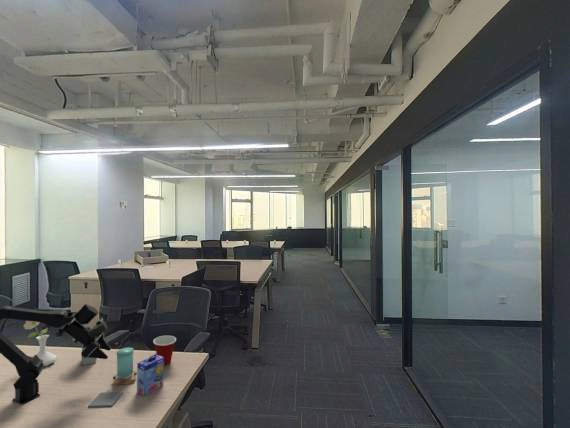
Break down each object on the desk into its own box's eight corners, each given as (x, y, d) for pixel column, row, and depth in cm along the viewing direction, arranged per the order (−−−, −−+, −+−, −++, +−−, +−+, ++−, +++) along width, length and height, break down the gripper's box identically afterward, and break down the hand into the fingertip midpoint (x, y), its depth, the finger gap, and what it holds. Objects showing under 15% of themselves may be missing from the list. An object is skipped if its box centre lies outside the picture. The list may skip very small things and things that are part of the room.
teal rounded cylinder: (124, 378, 134) (124, 355, 134) (112, 375, 137) (112, 352, 137) (136, 371, 140) (137, 349, 140) (125, 368, 143) (126, 346, 143)
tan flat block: (112, 386, 133) (112, 379, 133) (114, 377, 140) (114, 371, 140) (136, 382, 137) (136, 375, 137) (137, 373, 144) (137, 367, 144)
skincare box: (83, 359, 159) (83, 328, 159) (99, 356, 162) (99, 326, 162) (80, 366, 151) (80, 333, 152) (97, 363, 154) (97, 331, 155)
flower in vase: (53, 357, 161) (53, 309, 162) (59, 363, 154) (60, 313, 154) (20, 366, 151) (21, 315, 152) (26, 374, 144) (26, 320, 144)
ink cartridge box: (144, 396, 126) (145, 360, 126) (136, 392, 128) (136, 357, 129) (164, 384, 135) (164, 351, 135) (156, 381, 137) (156, 348, 137)
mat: (88, 407, 118) (88, 405, 118) (100, 394, 127) (100, 392, 127) (112, 406, 119) (112, 404, 119) (123, 393, 128) (123, 391, 128)
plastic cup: (163, 370, 147) (163, 345, 147) (148, 365, 152) (148, 340, 152) (181, 361, 156) (181, 337, 157) (166, 356, 162) (166, 333, 162)
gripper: (90, 324, 126) (121, 346, 130) (98, 311, 143) (124, 331, 147) (67, 346, 122) (99, 369, 127) (77, 331, 139) (105, 351, 144)
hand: (108, 353), depth 136 cm, fingers open, 9 cm apart
